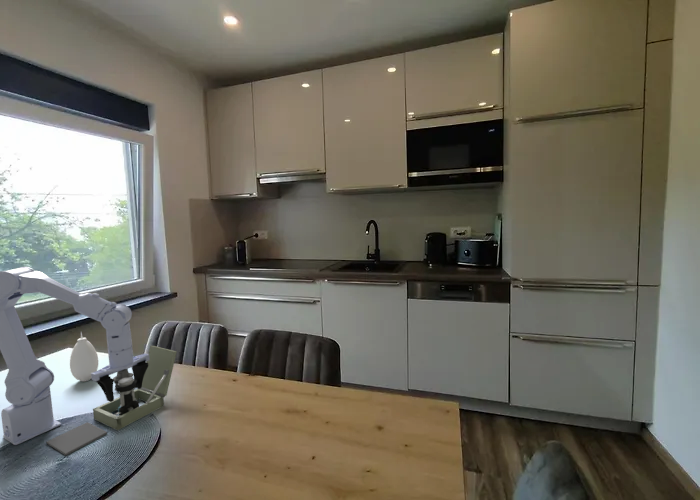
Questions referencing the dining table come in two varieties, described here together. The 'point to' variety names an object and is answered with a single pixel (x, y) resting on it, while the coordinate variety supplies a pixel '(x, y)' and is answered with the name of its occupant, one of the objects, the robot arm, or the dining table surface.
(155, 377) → the equipment case
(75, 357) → the sauce bottle
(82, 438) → the mat
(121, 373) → the grey tall tiered piece
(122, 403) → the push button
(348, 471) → the dining table surface
